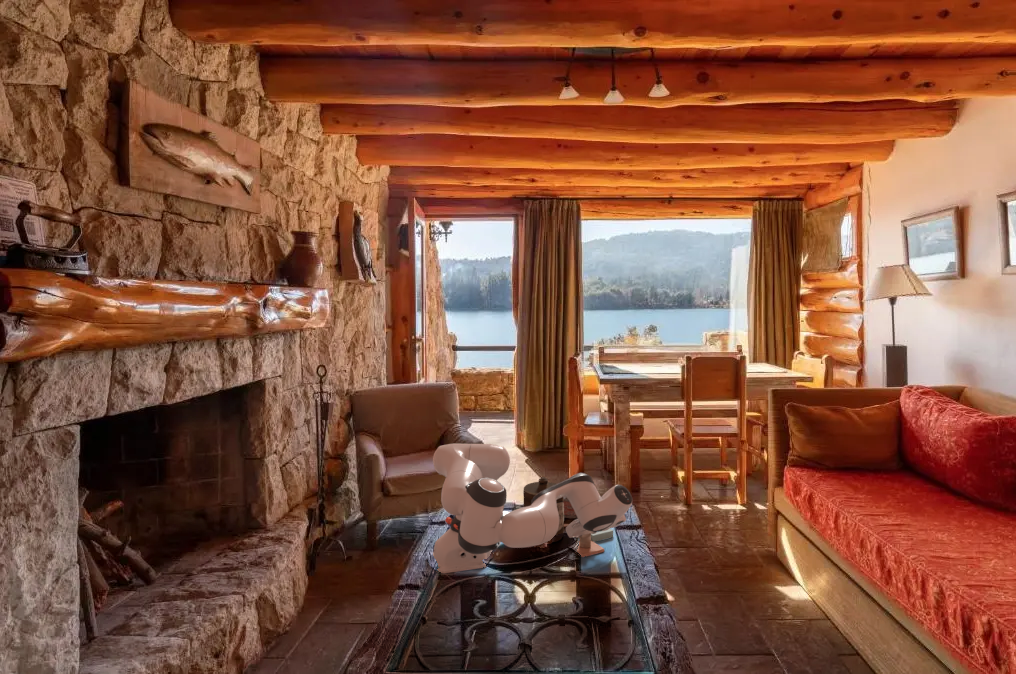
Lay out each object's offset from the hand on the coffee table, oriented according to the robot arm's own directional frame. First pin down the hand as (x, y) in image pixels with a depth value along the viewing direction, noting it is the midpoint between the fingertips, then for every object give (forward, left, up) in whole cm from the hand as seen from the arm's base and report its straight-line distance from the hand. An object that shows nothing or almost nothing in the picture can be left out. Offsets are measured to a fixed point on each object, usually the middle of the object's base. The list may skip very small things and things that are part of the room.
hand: (584, 533), depth 212 cm
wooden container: (-7, +16, -6) cm, 18 cm away
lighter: (+12, +26, -6) cm, 30 cm away
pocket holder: (+10, +7, -5) cm, 14 cm away
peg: (0, 0, -4) cm, 4 cm away
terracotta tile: (0, -1, -5) cm, 5 cm away
